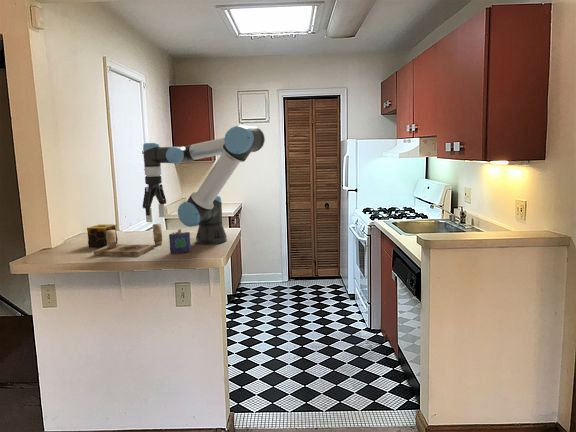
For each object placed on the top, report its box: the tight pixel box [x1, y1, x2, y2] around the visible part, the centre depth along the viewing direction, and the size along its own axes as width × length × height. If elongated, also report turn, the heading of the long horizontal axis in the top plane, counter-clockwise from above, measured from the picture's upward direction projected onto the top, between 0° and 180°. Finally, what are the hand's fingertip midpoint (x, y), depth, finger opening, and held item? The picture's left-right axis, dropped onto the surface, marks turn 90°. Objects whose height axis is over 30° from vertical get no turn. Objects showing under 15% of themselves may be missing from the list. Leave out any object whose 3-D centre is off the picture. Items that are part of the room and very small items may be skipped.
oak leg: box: [152, 223, 163, 246], centre depth 228 cm, size 4×4×10 cm
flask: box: [168, 228, 192, 255], centre depth 210 cm, size 9×3×11 cm, turn 113°
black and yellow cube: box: [86, 223, 119, 249], centre depth 229 cm, size 10×10×10 cm
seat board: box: [93, 230, 155, 257], centre depth 214 cm, size 22×14×10 cm, turn 80°
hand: (155, 219), depth 227 cm, fingers open, 13 cm apart
